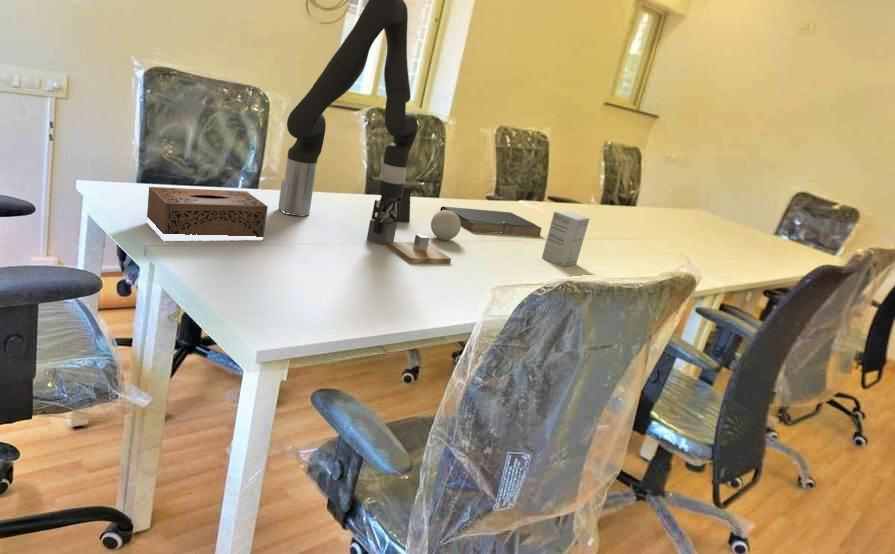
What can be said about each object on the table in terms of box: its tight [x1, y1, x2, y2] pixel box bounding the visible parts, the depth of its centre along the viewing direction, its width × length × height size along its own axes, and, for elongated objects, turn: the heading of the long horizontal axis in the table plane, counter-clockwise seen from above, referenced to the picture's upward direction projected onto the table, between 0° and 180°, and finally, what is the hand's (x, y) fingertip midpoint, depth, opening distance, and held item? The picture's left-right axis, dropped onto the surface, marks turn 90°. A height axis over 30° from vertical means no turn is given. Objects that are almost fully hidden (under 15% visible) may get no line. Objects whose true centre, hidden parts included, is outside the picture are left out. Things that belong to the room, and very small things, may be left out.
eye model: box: [430, 210, 462, 241], centre depth 211 cm, size 10×10×10 cm
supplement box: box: [541, 210, 590, 268], centre depth 215 cm, size 10×9×17 cm
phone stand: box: [395, 185, 412, 223], centre depth 224 cm, size 9×6×12 cm, turn 31°
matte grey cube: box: [413, 233, 430, 252], centre depth 188 cm, size 3×3×4 cm
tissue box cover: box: [146, 186, 269, 238], centre depth 166 cm, size 26×14×10 cm, turn 130°
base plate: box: [387, 241, 452, 264], centre depth 189 cm, size 14×14×2 cm
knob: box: [366, 215, 398, 246], centre depth 193 cm, size 6×6×8 cm
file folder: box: [439, 205, 543, 237], centre depth 248 cm, size 33×4×24 cm
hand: (383, 231), depth 194 cm, fingers open, 8 cm apart
